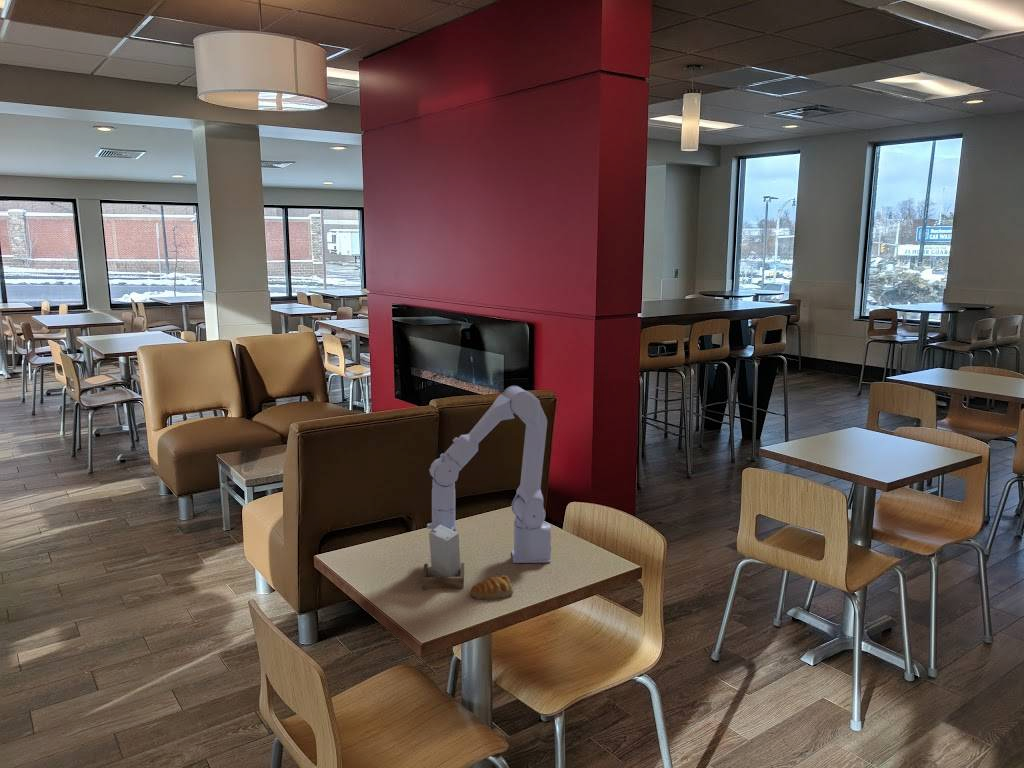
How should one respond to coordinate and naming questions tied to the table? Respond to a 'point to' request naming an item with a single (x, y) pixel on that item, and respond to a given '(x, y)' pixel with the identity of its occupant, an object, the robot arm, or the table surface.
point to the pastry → (492, 588)
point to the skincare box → (444, 552)
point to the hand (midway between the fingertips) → (443, 560)
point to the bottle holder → (442, 580)
